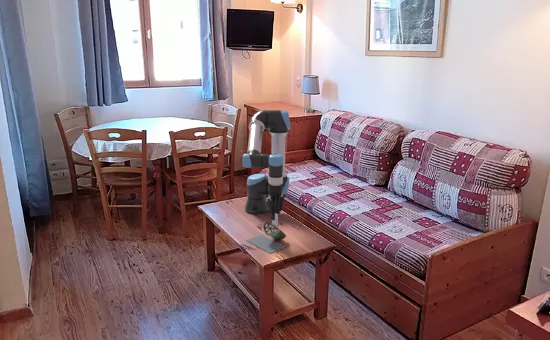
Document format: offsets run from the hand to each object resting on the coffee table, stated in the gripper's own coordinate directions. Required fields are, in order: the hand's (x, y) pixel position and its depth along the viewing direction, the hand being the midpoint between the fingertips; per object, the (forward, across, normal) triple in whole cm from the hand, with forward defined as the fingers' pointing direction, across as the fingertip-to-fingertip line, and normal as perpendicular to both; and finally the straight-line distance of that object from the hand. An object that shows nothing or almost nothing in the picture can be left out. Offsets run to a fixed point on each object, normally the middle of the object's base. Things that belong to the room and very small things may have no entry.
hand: (274, 224), depth 237 cm
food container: (+8, -3, 0) cm, 9 cm away
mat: (+10, +6, 0) cm, 12 cm away
